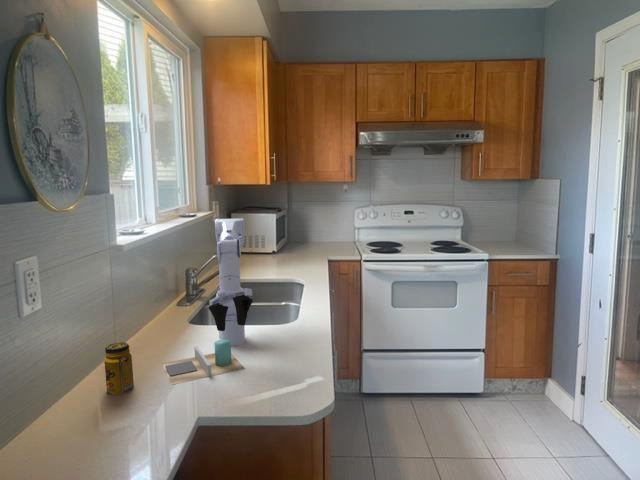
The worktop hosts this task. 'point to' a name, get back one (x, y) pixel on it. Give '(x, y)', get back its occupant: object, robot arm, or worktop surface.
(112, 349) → the condiment
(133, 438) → the worktop surface
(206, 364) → the fence
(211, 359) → the board
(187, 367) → the pad
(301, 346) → the worktop surface
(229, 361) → the peg
